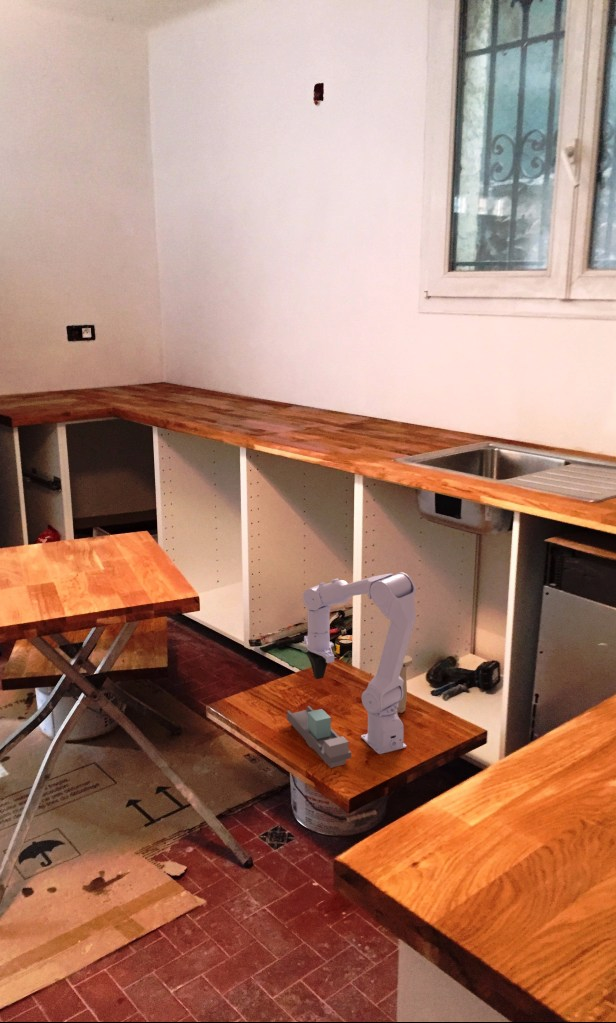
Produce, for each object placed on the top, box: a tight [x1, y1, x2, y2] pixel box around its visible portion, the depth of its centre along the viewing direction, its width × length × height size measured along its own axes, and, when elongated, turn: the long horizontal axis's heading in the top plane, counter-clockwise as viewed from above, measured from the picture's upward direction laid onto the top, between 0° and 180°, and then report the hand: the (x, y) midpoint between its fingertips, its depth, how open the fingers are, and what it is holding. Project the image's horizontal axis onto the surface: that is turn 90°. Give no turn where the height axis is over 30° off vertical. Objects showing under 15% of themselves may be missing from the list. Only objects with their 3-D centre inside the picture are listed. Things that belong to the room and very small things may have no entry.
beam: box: [286, 705, 352, 769], centre depth 212 cm, size 24×6×6 cm, turn 25°
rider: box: [308, 708, 332, 739], centre depth 211 cm, size 5×4×5 cm
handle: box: [397, 654, 413, 714], centre depth 227 cm, size 5×6×15 cm
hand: (318, 677), depth 226 cm, fingers closed
